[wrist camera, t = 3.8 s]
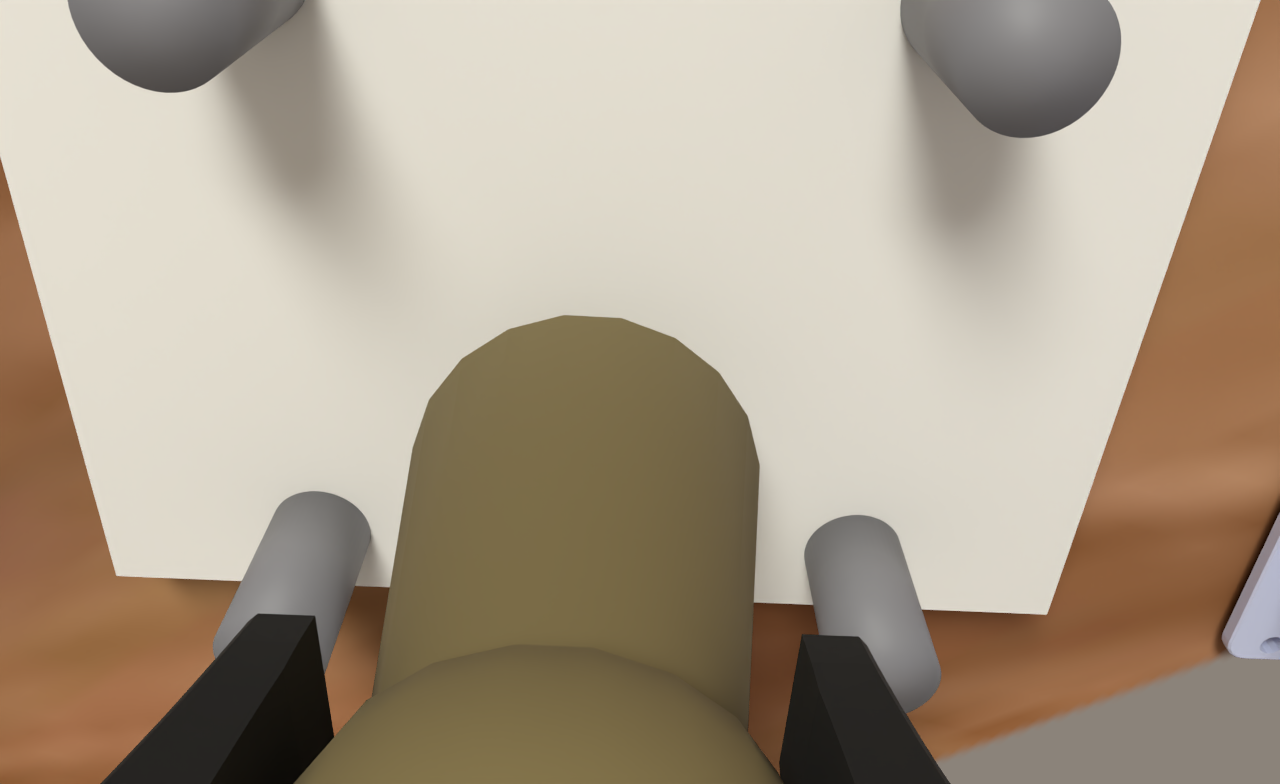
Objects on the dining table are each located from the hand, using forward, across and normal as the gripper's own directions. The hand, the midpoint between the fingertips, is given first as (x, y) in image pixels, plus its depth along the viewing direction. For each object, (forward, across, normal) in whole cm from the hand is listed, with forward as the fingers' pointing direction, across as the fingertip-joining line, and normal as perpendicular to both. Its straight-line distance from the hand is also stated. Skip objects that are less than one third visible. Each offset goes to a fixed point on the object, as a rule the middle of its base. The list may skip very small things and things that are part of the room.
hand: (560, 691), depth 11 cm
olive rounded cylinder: (+7, 0, +2) cm, 7 cm away
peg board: (+10, 0, 0) cm, 10 cm away
